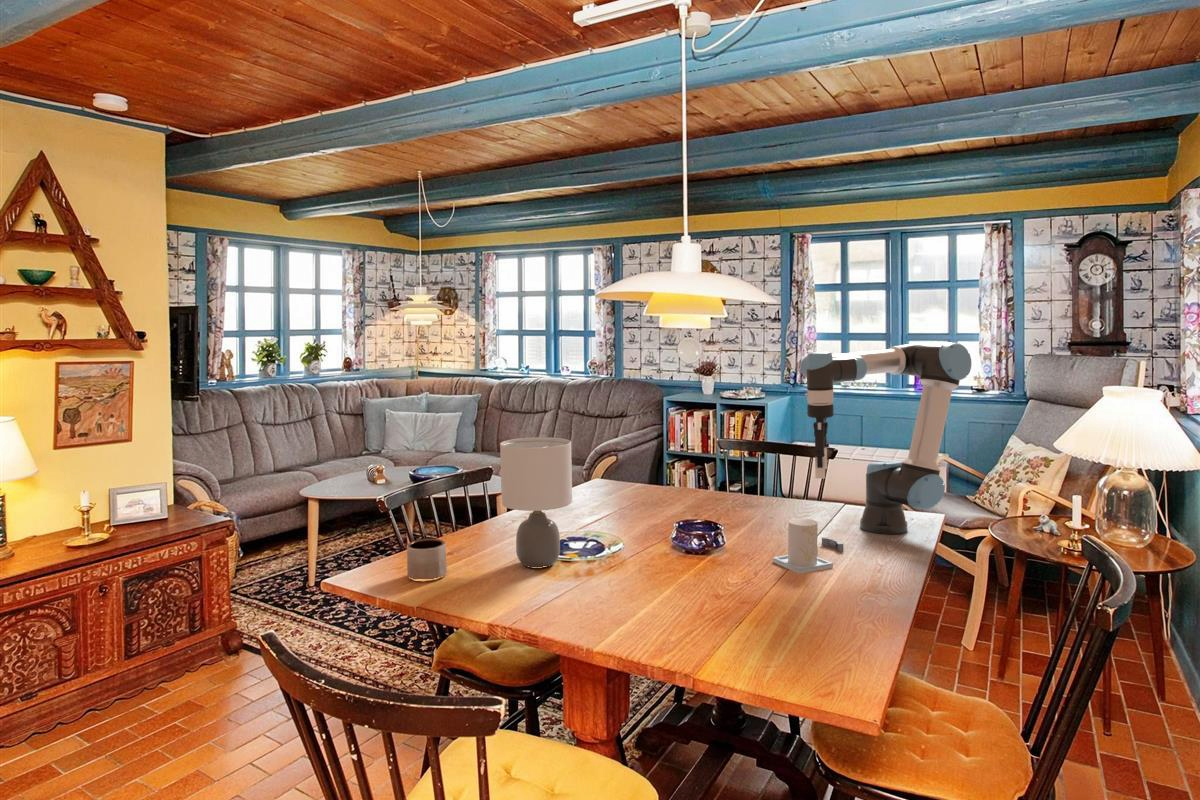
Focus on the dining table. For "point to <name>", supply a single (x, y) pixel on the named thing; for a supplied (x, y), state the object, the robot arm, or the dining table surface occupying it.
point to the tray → (820, 565)
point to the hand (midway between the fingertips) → (821, 473)
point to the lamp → (536, 493)
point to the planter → (426, 559)
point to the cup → (802, 542)
